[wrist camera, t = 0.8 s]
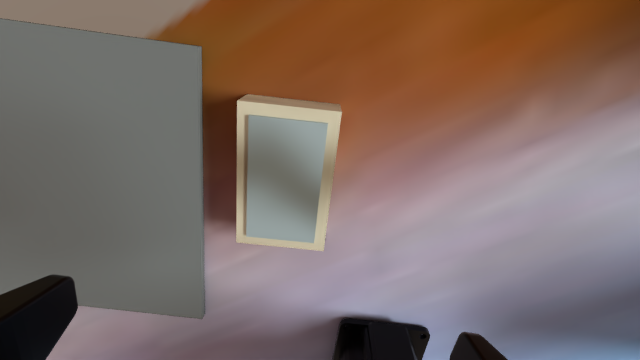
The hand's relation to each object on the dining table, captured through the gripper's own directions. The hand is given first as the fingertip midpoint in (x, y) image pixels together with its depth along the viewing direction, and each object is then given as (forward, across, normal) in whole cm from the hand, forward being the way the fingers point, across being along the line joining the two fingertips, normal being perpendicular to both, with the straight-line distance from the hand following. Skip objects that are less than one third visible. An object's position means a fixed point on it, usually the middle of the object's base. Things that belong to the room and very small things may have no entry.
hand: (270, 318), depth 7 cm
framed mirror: (+12, +1, +1) cm, 12 cm away
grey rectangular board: (+12, +18, +4) cm, 22 cm away
